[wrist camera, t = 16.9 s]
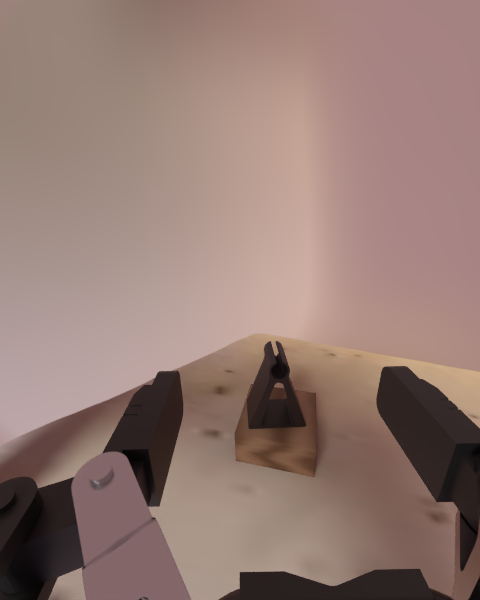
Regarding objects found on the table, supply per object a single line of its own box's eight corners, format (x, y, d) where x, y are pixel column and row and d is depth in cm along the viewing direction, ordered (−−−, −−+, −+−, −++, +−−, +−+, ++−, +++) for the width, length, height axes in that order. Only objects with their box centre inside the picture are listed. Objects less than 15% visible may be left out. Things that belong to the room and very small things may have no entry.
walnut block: (236, 462, 43) (235, 433, 41) (251, 408, 54) (251, 384, 52) (313, 478, 40) (316, 449, 38) (313, 418, 51) (315, 393, 49)
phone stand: (297, 400, 48) (301, 340, 43) (306, 427, 42) (311, 361, 38) (246, 401, 47) (245, 341, 43) (248, 429, 42) (247, 363, 38)
